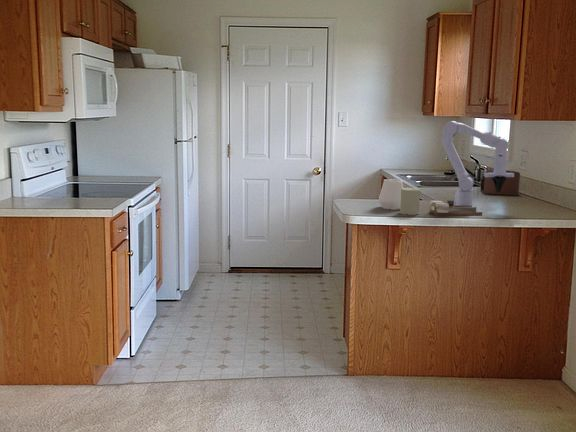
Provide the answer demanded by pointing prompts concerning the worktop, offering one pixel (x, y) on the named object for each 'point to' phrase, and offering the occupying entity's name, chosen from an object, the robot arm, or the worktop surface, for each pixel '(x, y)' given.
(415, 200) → the beige upright block
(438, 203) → the door board
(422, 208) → the worktop surface
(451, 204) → the bolt
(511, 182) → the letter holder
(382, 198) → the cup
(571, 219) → the worktop surface
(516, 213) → the worktop surface
